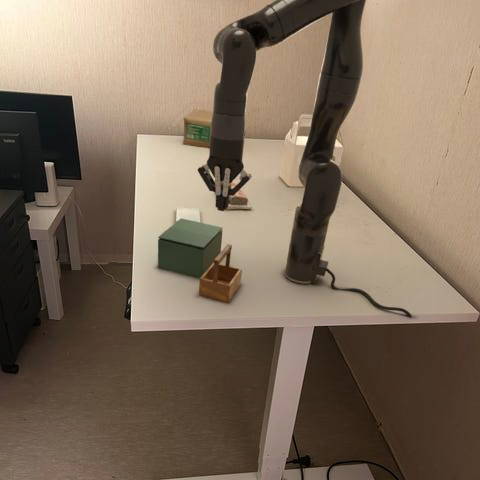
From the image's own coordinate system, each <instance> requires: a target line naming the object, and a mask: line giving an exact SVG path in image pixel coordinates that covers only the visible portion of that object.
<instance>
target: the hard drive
mask: <svg viewBox="0 0 480 480" xmlns="http://www.w3.org/2000/svg"><path fill="white" fill-rule="evenodd" d="M181 218H182V219H186V220H191V221H195V222H200V223H202V222H201V210H200V209H199V208H192V207H191V208H190V207H176V208H175V223H176V222H177V221H178V220H180V219H181Z"/></svg>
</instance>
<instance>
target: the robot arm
mask: <svg viewBox="0 0 480 480" xmlns="http://www.w3.org/2000/svg"><path fill="white" fill-rule="evenodd" d="M366 2H367V0H273V1H272V2H270V3H268V4H267V5H265V6H263V7H262V8H261V9H259V10H257V11H256V12H254V13H252V14H249V15H247V16H244V17H242V18H240V19H237V20H235V21H233V22H231V23H229V24H227V25H226V26H224V27H223V28H221V29H220V30H219V31H218V32H217V34H216V35H215V37H214V39H213V42H212V52H213V56H214V57H215V59H216V60H217V62H219V63H220V64H221V71H220V78H219V81H218V82H216V84H215V87H214V91H213V108H212V111H213V115H212V121H211V135H210V147H209V155H208V159H207V160H206V163H205V164H202V165H201V166H199V167H198V168H197V173H198V174H199V176H200V178H201V179H202V181H203V182H204V183H205V184H204V185H205V186H206V187H207V189H208V191H209V192H212V193H214V194H215V203H214V205H215V206H214V207H215V208H216V209H217V211H219V212H224V211H226V209H227V207H228V205H229V195H232V196H233V195H235V194H236V193H237V192H238V191H239V190H240V189H241V190H242V188H243V187H244V186H245V185H246V184H247V183H248V182H249V181H251V179H252V177H253V176H252V174H251V173H248V172H247V171H246V170H245V169H244V168H245V165H244V162H243V157H244V147H245V137H246V127H247V123H246V120H247V119H246V115H247V103H248V92H249V89H250V85H251V83H252V80H253V79H252V78H253V75H254V71H255V67H256V62H257V52H258V51H260V50H262V49H265V48H266V49H267V48H272V47H276V46H278V45H279V44H281V43H283V42H285V41H286V40H288V39H290V38H291V37H293V36H295V35H296V34H298V33H299V32H300V31H302V30H304V29H306V28H307V27H309V26H311V25H313V24H314V23H316V22H318V21H319V20H321V19H323V18H325V17H327V16H328V15H330V14H331V19H330V24H329V29H328V33H327V40H326V44H325V49H324V56H323V60H322V64H321V68H320V73H319V77H318V82H317V88H316V93H315V101H314V104H313V110H312V114H311V115H312V121H311V127H309V132H308V135H307V136H308V139H307V143H306V146H305V149H304V153H303V154H302V155H301V159H300V161H299V179H300V182H301V184H302V185H303V186H304V187H303V188H304V191H303V196H302V200H301V203H300V204H298V205H297V206H296V208H295V211H294V218H293V221H292V222H293V223H292V229H291V234H290V241H289V246H288V251H287V257H286V264H285V268H284V277H285V278H286V279H287V280H288V281H291V282H294V283H296V284H301V285H308V284H309V285H310V284H311V285H315V284H316V282H317V280H318V276H320V277H325V275H326V274H329V275H330V277H331V281H330V287H331V288H332V289H333V290H334V291H344V292H357V293H360V294H363V295H364V296H365V297H366V298H367V299H368V300H369V302H371V303H372V304H373V305H374V306H375V307H377V308H379V309H382V310H386V311H395V312H397V311H398V312H401V313H403V314H405V315H406V316H407V317H408V318H410V319H412V318H413V316H412V314H411V312H409V310H407V309H405V308H403V307H398V306H397V307H396V306H387V305H386V306H385V305H382V304H380V303H378V302H377V301H376V300H374V298H372V297H371V295H370V294H369V293H368V292H367V291H365V290H363V289H361V288H355V287H350V288H339V287H336V286H335V285H334V284H335V282H336V276H335V274H334V273H333V271H331V270H330V269H329V268H328V266H329V261H328V260H324V259H323V254H324V250H325V243H326V238H327V235H328V234H327V233H328V229H329V224H330V220H331V217H332V215H333V214H334V212H335V210H336V208H337V207H336V206H337V204H338V200H339V195H340V192H341V187H342V183H343V173H342V169H341V168H340V165H339V166H338V165H337V164H336V163H335V162H333V161H332V160H333V152H334V147H335V142H336V138H337V135H338V132H339V130H340V131H341V129H340V128H342V126H343V124H344V123H345V122H346V119H348V116H349V115H350V113H351V111H352V110H353V107H354V105H355V102H356V100H357V96H358V92H359V89H360V85H361V80H362V76H363V70H364V56H363V55H364V54H363V45H362V34H361V31H362V30H361V28H362V19H363V14H364V10H365V6H366ZM239 175H240V176H239ZM238 176H239V178H238ZM236 178H238V179H239V182H238V183H236V184H237V185H236V186H235V187H234V188H231V185H232V183H234V181H235V179H236Z"/></svg>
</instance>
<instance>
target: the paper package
mask: <svg viewBox="0 0 480 480" xmlns="http://www.w3.org/2000/svg"><path fill="white" fill-rule="evenodd" d="M212 115H213V110H205V109H204V110H203V109H197V108H194V109H193V110H192V111H191V112H189V113H187V114H186V116H184V117H183V145H186V146H194V147H195V146H196V147H204V148H210V135H211V121H212Z"/></svg>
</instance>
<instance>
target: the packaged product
mask: <svg viewBox="0 0 480 480" xmlns="http://www.w3.org/2000/svg"><path fill="white" fill-rule="evenodd" d="M237 184H238V183H235V182H232V185H231V188H234V187H235V186H236V185H237ZM252 208H253V206H252V205H251V204H250V203H249V199H248V197H247V196H246V194H245V193H244V192H243V190H242V188H241V189H240V190H239V191H238V192H237V193H236V194H235V195H233V196H232V195H229V205H228V207H227V209H225V211H226V210H250V211H252Z"/></svg>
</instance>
